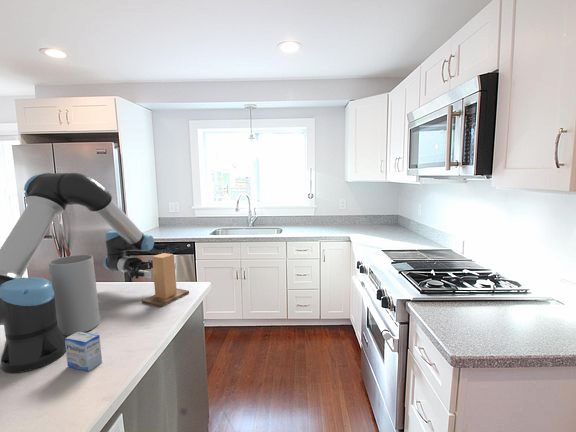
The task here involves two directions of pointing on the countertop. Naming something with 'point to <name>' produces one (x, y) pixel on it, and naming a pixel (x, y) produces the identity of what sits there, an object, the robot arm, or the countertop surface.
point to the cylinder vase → (75, 293)
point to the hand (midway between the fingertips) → (163, 270)
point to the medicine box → (83, 351)
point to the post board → (161, 301)
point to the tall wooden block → (164, 275)
